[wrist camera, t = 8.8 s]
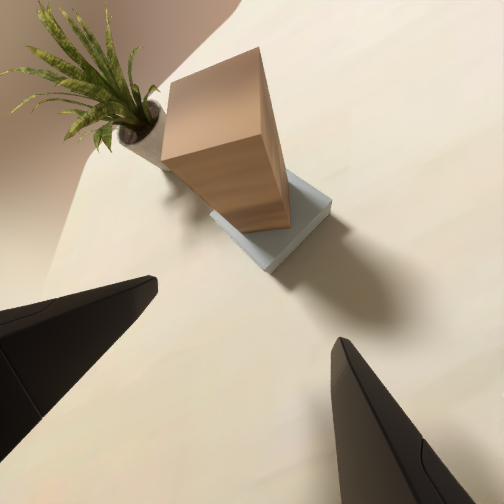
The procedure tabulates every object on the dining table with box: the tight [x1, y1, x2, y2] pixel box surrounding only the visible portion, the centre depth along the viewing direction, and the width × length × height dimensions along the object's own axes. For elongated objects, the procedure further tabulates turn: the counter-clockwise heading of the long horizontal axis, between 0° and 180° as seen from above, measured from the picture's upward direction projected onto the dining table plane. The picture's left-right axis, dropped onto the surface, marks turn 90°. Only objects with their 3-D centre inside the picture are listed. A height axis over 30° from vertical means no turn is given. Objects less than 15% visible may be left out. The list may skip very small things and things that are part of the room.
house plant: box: [0, 1, 171, 171], centre depth 22 cm, size 14×14×16 cm
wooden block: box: [161, 47, 291, 234], centre depth 14 cm, size 5×5×11 cm
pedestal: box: [209, 169, 332, 274], centre depth 21 cm, size 9×9×3 cm
